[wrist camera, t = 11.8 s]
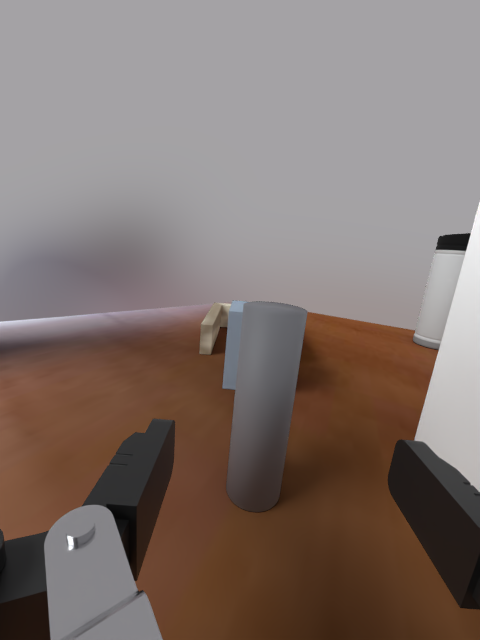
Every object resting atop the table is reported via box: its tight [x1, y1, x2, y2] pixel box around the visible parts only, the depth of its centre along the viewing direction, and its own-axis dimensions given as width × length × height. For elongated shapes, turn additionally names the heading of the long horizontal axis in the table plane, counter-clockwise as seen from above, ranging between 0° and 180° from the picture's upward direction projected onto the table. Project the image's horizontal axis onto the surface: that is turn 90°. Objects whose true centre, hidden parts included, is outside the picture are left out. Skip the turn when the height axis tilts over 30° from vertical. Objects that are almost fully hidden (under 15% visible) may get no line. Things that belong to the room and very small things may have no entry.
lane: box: [199, 303, 231, 355], centre depth 44 cm, size 13×16×4 cm
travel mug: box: [413, 233, 471, 350], centre depth 49 cm, size 6×7×20 cm
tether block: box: [223, 300, 307, 512], centre depth 24 cm, size 6×20×11 cm, turn 178°
